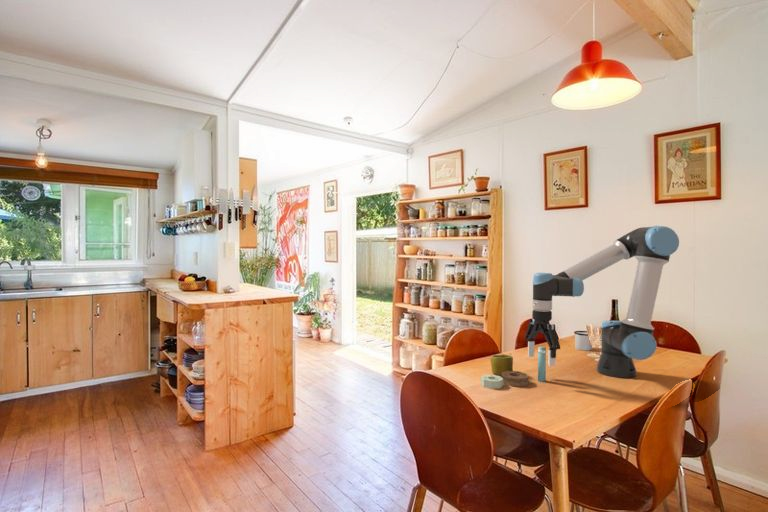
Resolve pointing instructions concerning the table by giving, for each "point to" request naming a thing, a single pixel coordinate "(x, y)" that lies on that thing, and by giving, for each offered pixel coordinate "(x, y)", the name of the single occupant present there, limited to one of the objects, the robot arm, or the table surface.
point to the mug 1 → (501, 364)
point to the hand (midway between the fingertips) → (540, 360)
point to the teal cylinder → (542, 364)
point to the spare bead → (492, 381)
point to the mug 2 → (582, 341)
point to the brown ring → (515, 378)
